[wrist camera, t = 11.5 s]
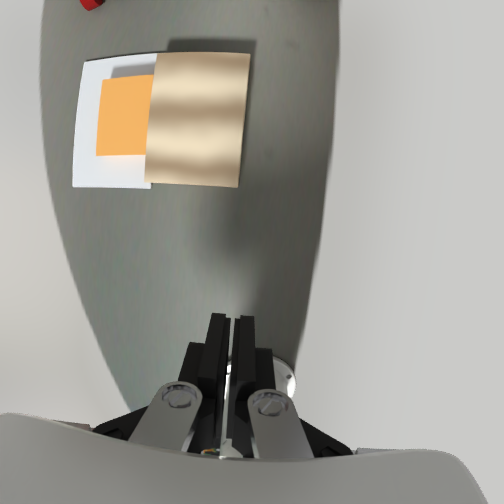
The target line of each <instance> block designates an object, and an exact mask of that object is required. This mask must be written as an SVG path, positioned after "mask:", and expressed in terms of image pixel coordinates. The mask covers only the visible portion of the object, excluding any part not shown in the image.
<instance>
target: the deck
mask: <svg viewBox="0 0 504 504" xmlns="http://www.w3.org/2000/svg"><path fill="white" fill-rule="evenodd" d="M249 70H250V54H245V53H226V52H174V53H157V58H156V64H155V71H154V78H153V85H152V93H151V101H150V110H149V119H148V130H147V142H146V156H145V174H144V182H146V183H171V184H191V185H207V186H222V187H235V188H238V186H239V175H240V163H241V152H242V141H243V130H244V120H245V109H246V99H247V89H248V79H249Z"/></svg>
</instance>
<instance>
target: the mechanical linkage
mask: <svg viewBox="0 0 504 504" xmlns="http://www.w3.org/2000/svg"><path fill="white" fill-rule="evenodd" d="M80 2H81V4H82V5H83V7H84V8H85V9H86V10H88V11H90V10H92V9H94V8H96V7H98V6H100V5H102V0H80Z"/></svg>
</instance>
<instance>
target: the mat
mask: <svg viewBox="0 0 504 504" xmlns="http://www.w3.org/2000/svg"><path fill="white" fill-rule="evenodd" d="M156 58H157V53H153V54H141V55H131V56H122V57H114V58H107V59H100V60H94V61H89V62H84V67H83V73H82V79H81V85H80V92H79V99H78V107H77V116H76V126H75V138H74V155H73V187H113V188H146V189H151V188H152V183H146V182H144V174H145V156H146V155H114V156H96V141H97V126H98V114H99V104H100V95H101V87H102V80H104V79H112V78H120V77H129V76H139V75H152V74H154V71H155V64H156Z"/></svg>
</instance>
